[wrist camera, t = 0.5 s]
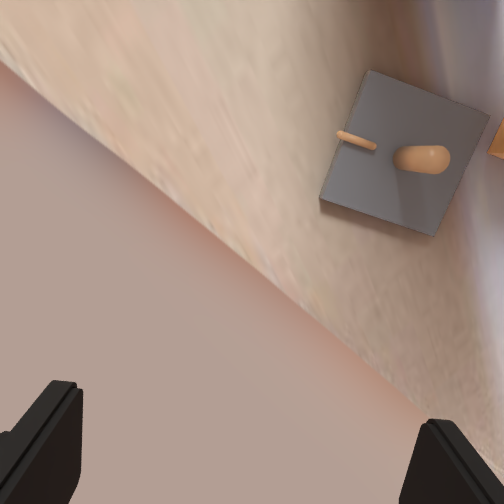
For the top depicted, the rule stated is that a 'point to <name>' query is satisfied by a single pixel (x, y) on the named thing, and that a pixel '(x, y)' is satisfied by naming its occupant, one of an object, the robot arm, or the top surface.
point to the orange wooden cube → (498, 143)
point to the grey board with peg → (402, 153)
